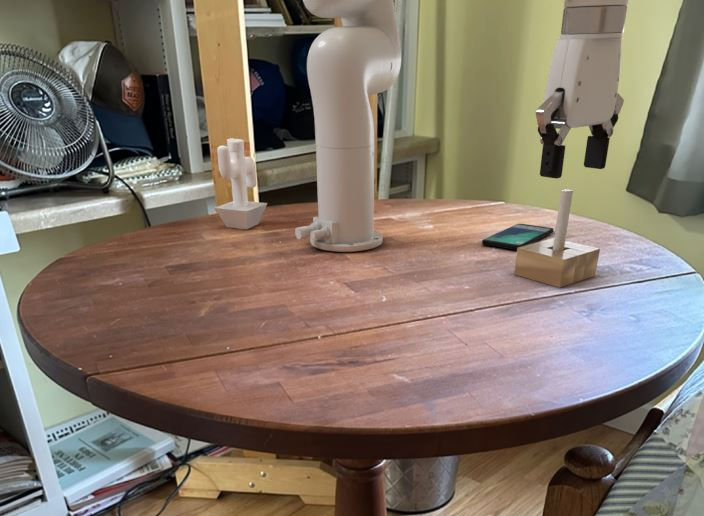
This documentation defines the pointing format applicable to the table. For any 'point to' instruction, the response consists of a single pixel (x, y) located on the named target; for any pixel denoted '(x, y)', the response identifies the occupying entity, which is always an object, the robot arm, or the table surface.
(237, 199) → the figurine
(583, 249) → the pen stand
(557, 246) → the white rod
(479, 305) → the table surface
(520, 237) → the smartphone
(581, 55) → the robot arm
